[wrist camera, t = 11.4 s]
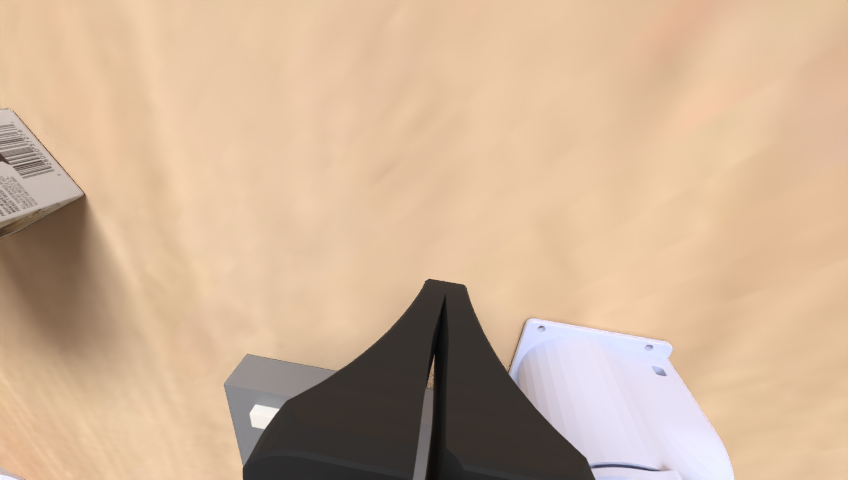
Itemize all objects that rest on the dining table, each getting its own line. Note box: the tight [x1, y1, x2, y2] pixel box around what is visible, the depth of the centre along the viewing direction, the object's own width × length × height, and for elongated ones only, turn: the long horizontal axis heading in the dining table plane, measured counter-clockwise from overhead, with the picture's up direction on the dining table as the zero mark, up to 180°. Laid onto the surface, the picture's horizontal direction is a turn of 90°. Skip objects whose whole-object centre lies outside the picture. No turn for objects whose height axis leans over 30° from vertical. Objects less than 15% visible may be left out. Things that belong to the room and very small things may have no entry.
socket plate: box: [224, 354, 433, 480], centre depth 30 cm, size 18×16×4 cm
